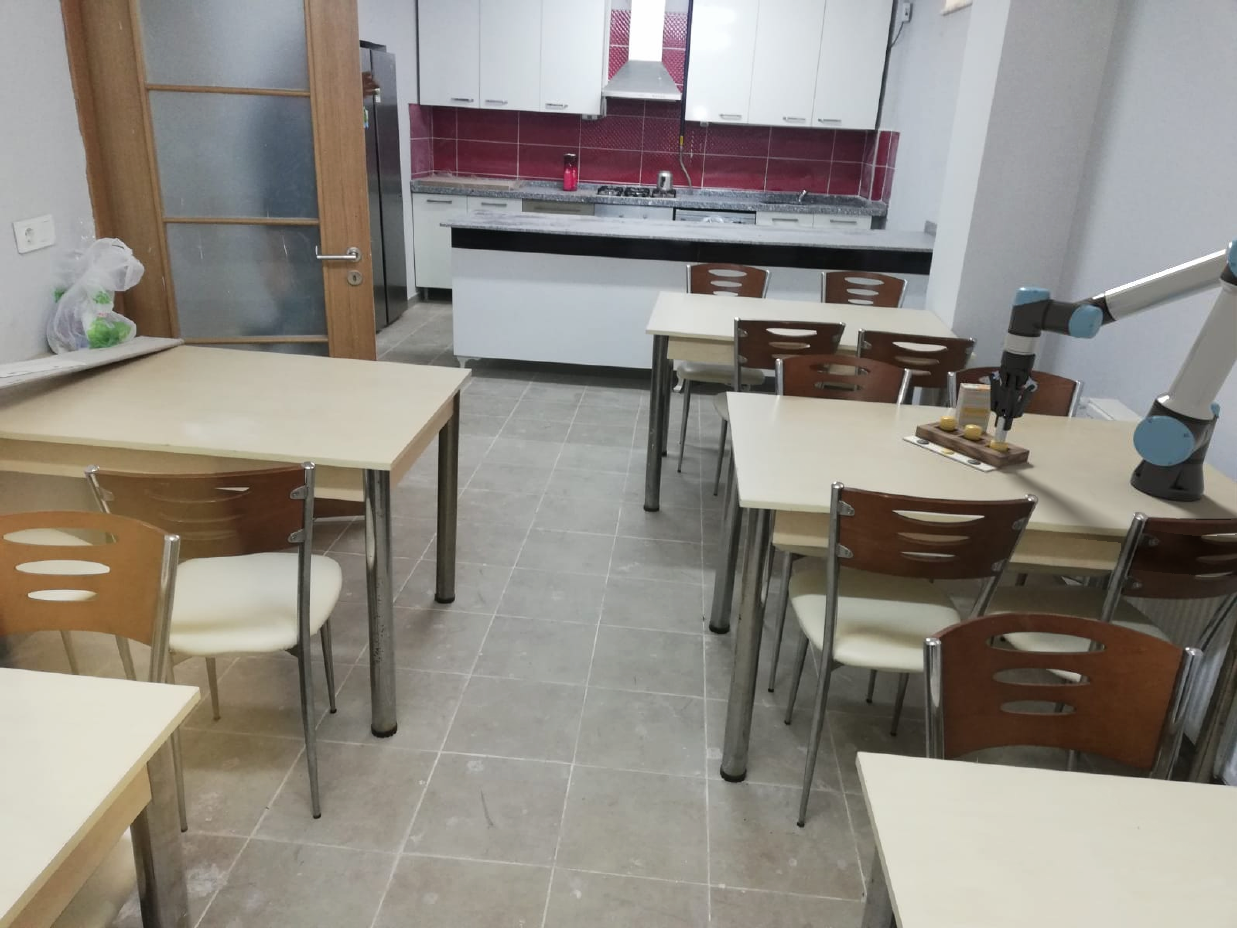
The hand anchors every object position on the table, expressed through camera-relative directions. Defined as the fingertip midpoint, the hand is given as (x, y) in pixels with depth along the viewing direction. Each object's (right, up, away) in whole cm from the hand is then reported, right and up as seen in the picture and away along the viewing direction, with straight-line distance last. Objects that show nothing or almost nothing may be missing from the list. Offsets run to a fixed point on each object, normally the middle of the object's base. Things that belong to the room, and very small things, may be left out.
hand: (999, 441), depth 223 cm
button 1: (-9, +4, +13) cm, 16 cm away
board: (-4, -2, +8) cm, 9 cm away
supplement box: (+1, +3, +22) cm, 23 cm away
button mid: (-4, +1, +7) cm, 8 cm away
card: (-12, -3, +3) cm, 13 cm away
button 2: (0, -3, +1) cm, 3 cm away
